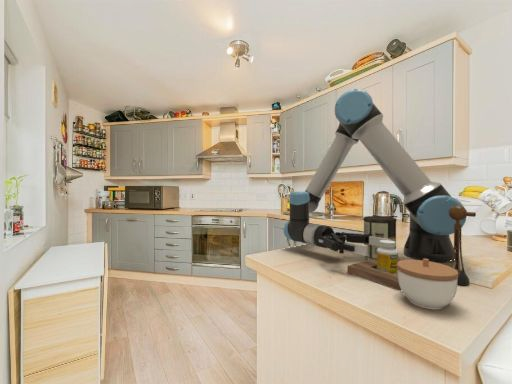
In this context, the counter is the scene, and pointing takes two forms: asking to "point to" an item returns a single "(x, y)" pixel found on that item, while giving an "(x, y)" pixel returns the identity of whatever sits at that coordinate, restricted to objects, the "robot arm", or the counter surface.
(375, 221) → the coffee can
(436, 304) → the lidded jar
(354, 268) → the walnut socket plate
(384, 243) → the supplement bottle
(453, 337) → the counter surface
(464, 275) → the wooden tabletop sculpture
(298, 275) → the counter surface
